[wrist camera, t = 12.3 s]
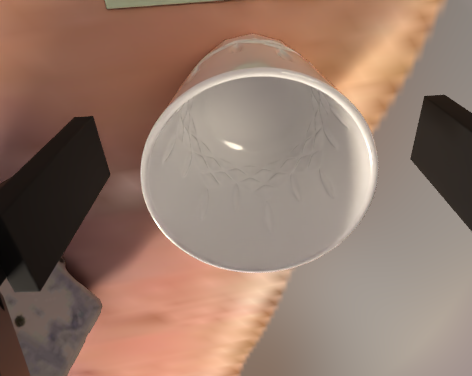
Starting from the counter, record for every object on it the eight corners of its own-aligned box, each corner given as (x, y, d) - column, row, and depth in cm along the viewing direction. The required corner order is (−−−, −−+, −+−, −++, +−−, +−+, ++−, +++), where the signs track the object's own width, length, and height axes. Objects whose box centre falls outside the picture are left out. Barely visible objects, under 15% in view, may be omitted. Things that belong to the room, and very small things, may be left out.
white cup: (337, 128, 21) (401, 234, 13) (219, 175, 23) (207, 296, 15) (291, -8, 18) (339, 16, 9) (155, 61, 19) (90, 135, 11)
